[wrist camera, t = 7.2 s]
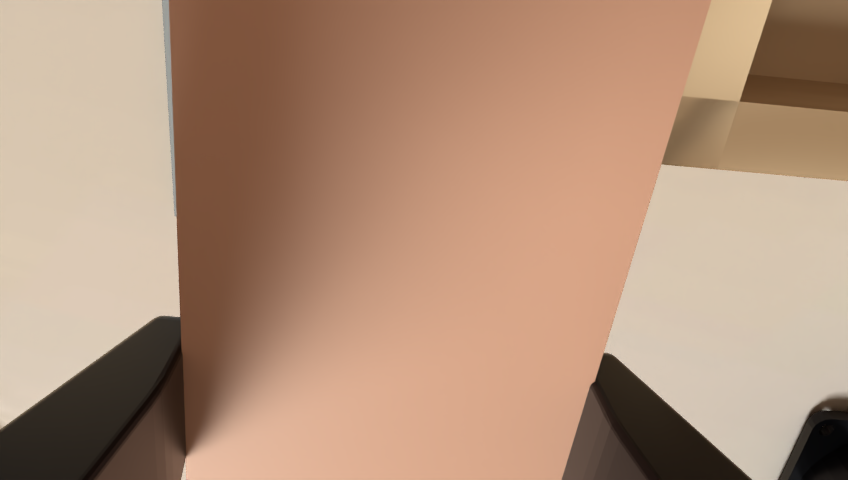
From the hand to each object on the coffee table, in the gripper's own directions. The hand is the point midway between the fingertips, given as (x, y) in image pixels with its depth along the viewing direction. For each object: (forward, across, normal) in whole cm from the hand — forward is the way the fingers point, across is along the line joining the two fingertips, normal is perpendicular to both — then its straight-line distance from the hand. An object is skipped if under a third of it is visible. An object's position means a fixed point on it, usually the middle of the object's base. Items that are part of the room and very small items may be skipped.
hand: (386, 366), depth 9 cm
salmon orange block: (+3, 0, -1) cm, 3 cm away
